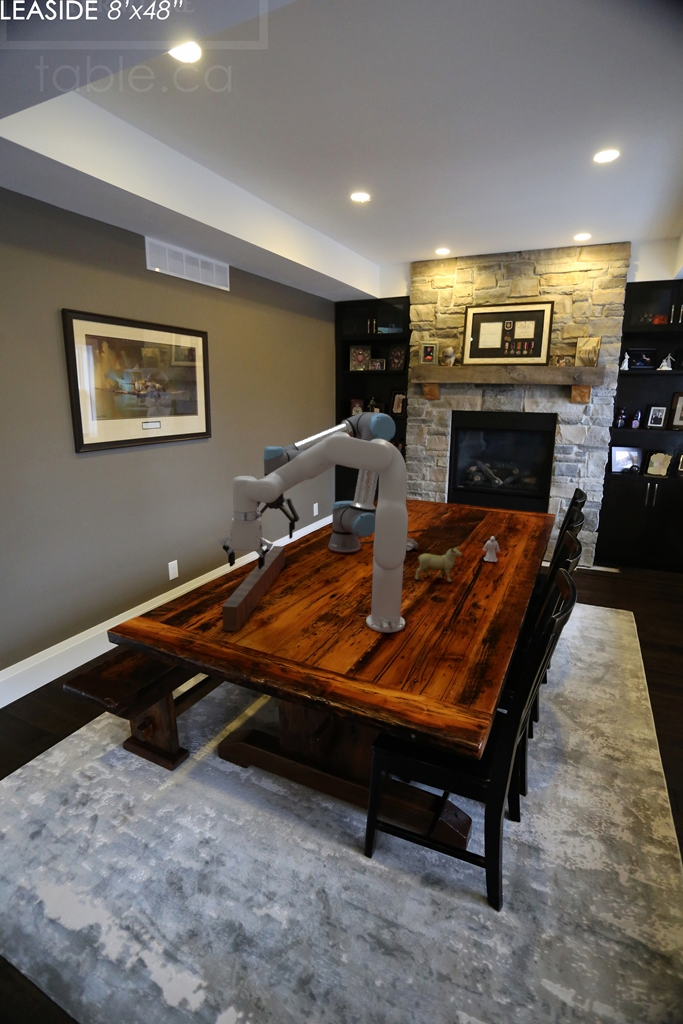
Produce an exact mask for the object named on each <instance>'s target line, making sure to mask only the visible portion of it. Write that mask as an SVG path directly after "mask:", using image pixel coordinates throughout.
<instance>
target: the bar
mask: <svg viewBox="0 0 683 1024" xmlns="http://www.w3.org/2000/svg"><path fill="white" fill-rule="evenodd" d="M285 565H286V546H283V545H273V546H272V547H271V549H270V551H269V552H268V553H267V554H266V555H265V565H264V566H263V567H262V568H261V569H258V564H257V565H256V566H255V567H254V568H253V569H252V571H251V572H250V573H249V574H248V575H247V577H245V579H244V580H243V581H242V583H241V584H240V585H239V586H238V587H237V588H236V589H235V590H234V591H233V593H232V594H231V595H230V596H229V597H228V599H226V601H225V602H224V603H223V604H222V605H221V613H222V631H223V632H224V631H225V632H235V633H236V632H239V630H240V629H241V628H242V626H243V625H244V624H245V622H246V621H247V619H248V618H249V616H250V615H251V614H252V612H253V611H254V609H255V608H256V606H257V605H258V604H259V602H260V601H261V599H262V598H263V596H265V594H266V592H267V591H268V589H269V588H270V587H271V585H272V584H273V583H274V581H275V580H276V578H277V577H278V576H279V574H280V573H281V571H282V570H283V569H284V568H285Z"/></svg>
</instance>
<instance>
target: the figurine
mask: <svg viewBox="0 0 683 1024" xmlns="http://www.w3.org/2000/svg"><path fill="white" fill-rule="evenodd" d="M482 551H483V552H486V554H485V556H484V557H483V560H484V561H485V562H495V563H498V558H497V554H496V553H498V554H499V553H501V550H500V547H499V543H498V541H497V540H496V538H495V536H493V535H492V536H490V539H489V540H487V542H486V543H485V544H484V546H483V548H482Z"/></svg>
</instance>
